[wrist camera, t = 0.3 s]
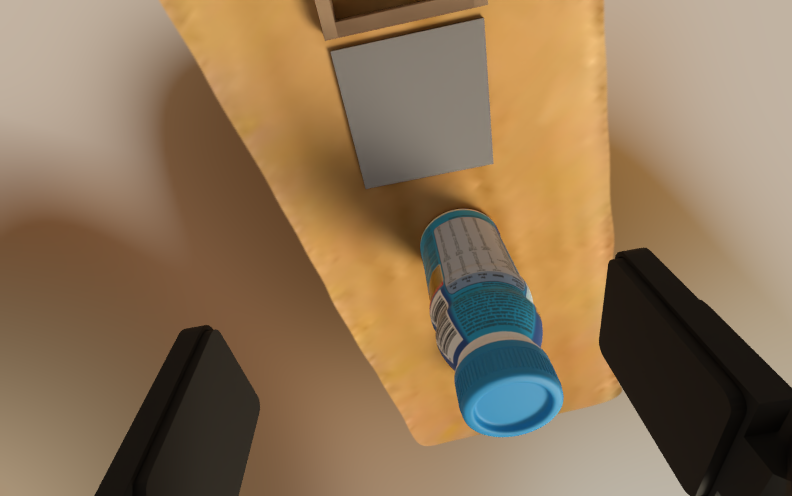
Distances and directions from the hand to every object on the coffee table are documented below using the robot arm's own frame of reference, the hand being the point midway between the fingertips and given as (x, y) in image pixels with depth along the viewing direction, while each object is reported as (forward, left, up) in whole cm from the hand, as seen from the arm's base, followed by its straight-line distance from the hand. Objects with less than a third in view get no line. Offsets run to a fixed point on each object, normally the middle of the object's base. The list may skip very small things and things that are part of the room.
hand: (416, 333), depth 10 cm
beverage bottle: (+17, +4, -29) cm, 34 cm away
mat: (+3, +2, -29) cm, 29 cm away
